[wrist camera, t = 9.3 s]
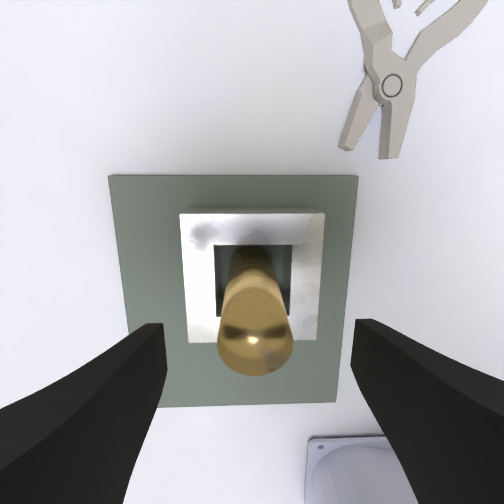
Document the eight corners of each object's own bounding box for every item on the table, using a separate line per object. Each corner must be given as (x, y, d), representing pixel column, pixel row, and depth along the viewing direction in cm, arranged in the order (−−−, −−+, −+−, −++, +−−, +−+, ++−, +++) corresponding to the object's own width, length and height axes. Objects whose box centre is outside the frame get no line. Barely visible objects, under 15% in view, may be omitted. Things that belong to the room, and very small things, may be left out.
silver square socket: (311, 206, 19) (325, 213, 16) (304, 315, 21) (315, 340, 18) (189, 207, 18) (179, 214, 15) (196, 317, 21) (188, 342, 17)
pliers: (562, -138, 14) (444, 172, 18) (530, -107, 15) (428, 172, 19) (375, -209, 13) (293, 135, 17) (360, -169, 14) (288, 138, 18)
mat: (356, 175, 19) (358, 175, 18) (334, 398, 24) (335, 402, 23) (110, 175, 18) (107, 175, 18) (140, 404, 23) (138, 408, 22)
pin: (274, 247, 19) (298, 312, 11) (270, 287, 20) (288, 378, 11) (230, 243, 19) (218, 307, 10) (228, 284, 20) (215, 374, 11)
